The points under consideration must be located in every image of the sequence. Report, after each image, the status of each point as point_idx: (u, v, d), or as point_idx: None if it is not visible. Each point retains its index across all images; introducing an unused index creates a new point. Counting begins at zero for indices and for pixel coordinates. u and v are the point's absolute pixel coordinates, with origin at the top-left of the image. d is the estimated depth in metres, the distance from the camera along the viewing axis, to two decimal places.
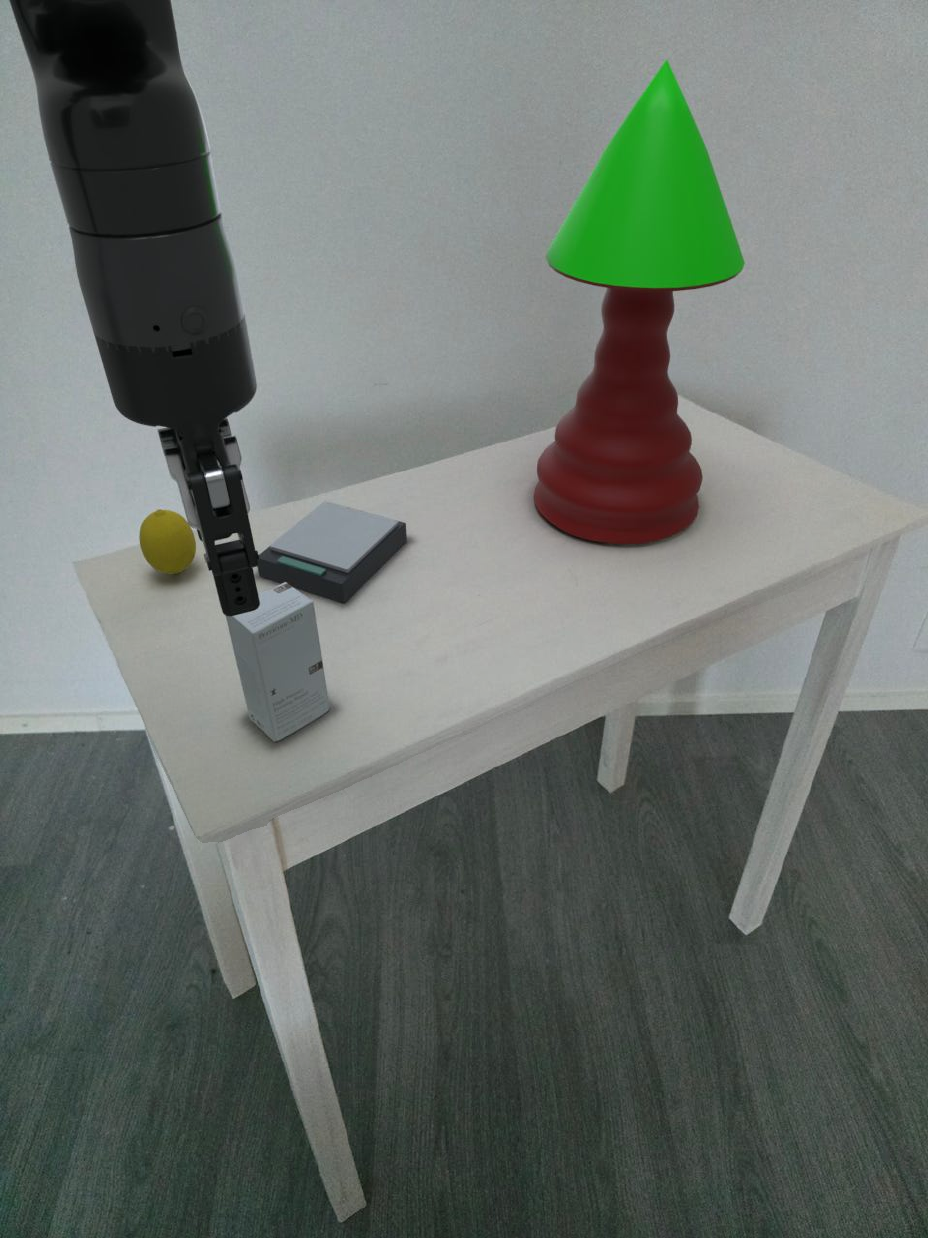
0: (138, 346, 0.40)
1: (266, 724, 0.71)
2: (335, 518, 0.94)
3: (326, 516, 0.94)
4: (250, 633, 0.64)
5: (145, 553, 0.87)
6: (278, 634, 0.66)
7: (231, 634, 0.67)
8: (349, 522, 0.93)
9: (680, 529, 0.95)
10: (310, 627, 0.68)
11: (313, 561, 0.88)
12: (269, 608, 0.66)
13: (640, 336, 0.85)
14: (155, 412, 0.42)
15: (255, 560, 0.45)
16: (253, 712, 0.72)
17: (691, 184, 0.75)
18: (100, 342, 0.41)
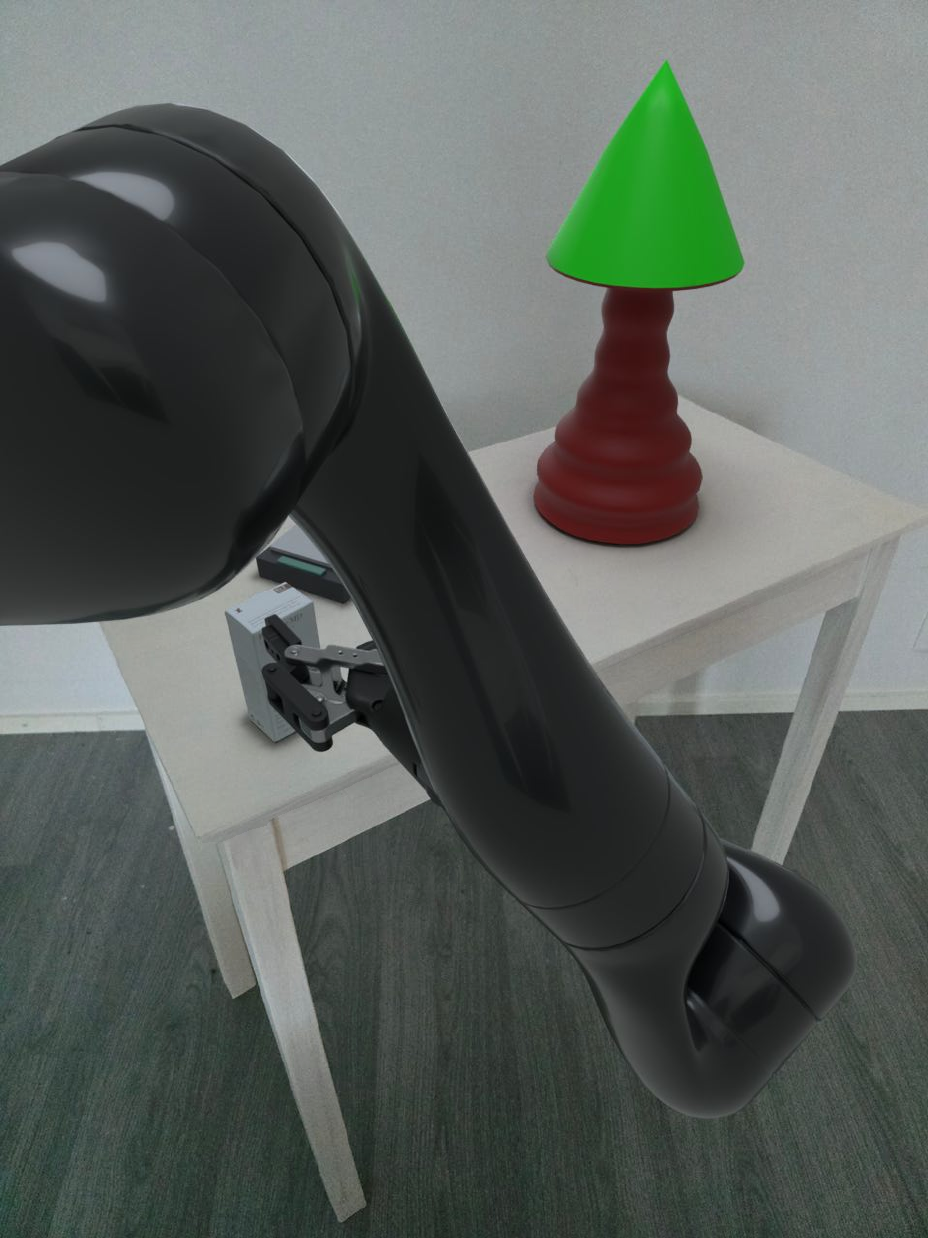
0: None
1: (266, 724, 0.71)
2: None
3: None
4: (250, 633, 0.64)
5: None
6: None
7: (231, 634, 0.67)
8: None
9: (680, 529, 0.95)
10: (309, 627, 0.68)
11: (313, 561, 0.88)
12: (269, 608, 0.66)
13: (640, 336, 0.85)
14: (389, 708, 0.44)
15: (269, 703, 0.49)
16: (253, 712, 0.72)
17: (691, 184, 0.75)
18: None
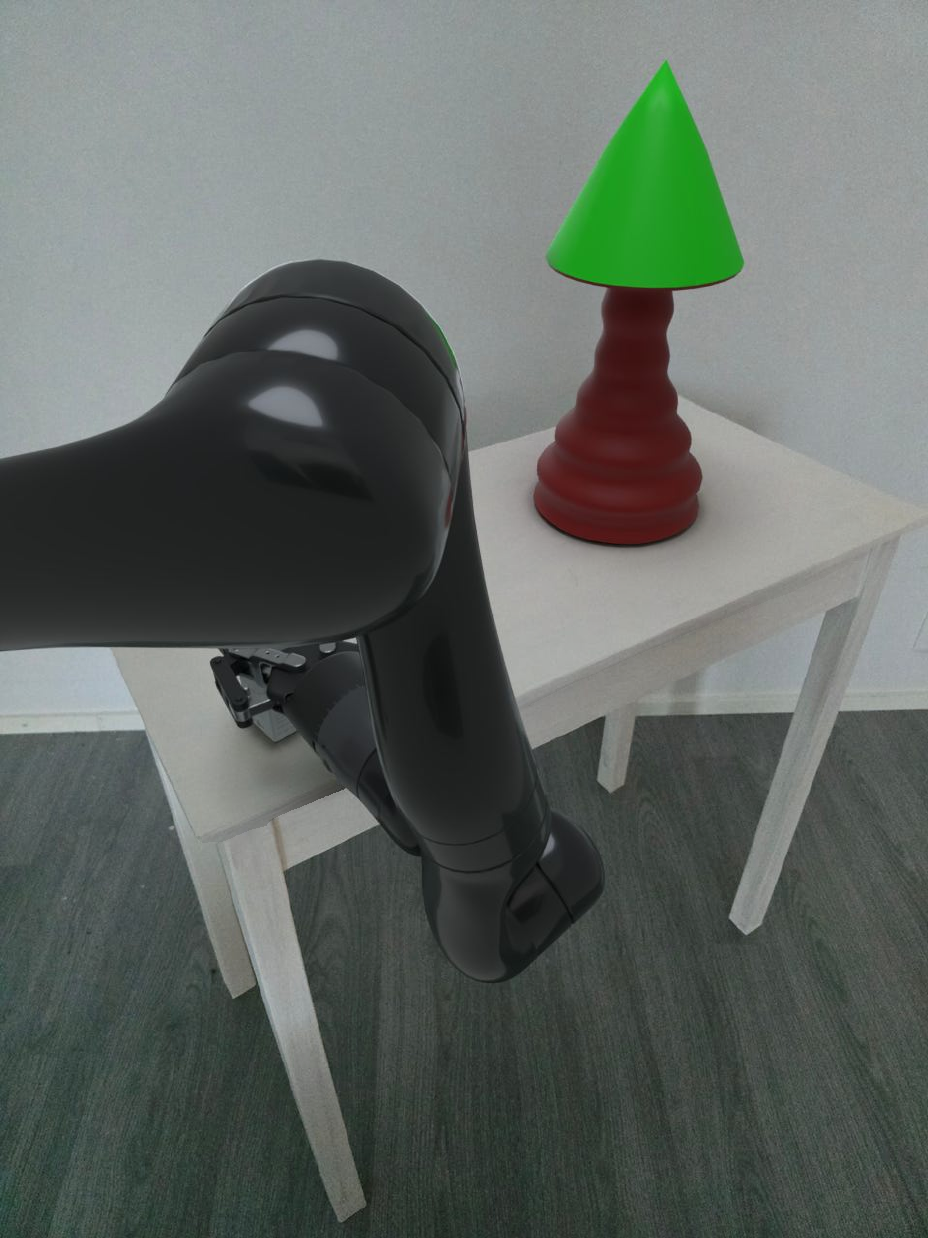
0: (321, 727, 0.56)
1: (266, 724, 0.71)
2: None
3: None
4: None
5: None
6: None
7: None
8: None
9: (680, 529, 0.95)
10: None
11: None
12: None
13: (640, 335, 0.85)
14: (296, 699, 0.58)
15: None
16: None
17: (690, 184, 0.75)
18: (342, 695, 0.56)
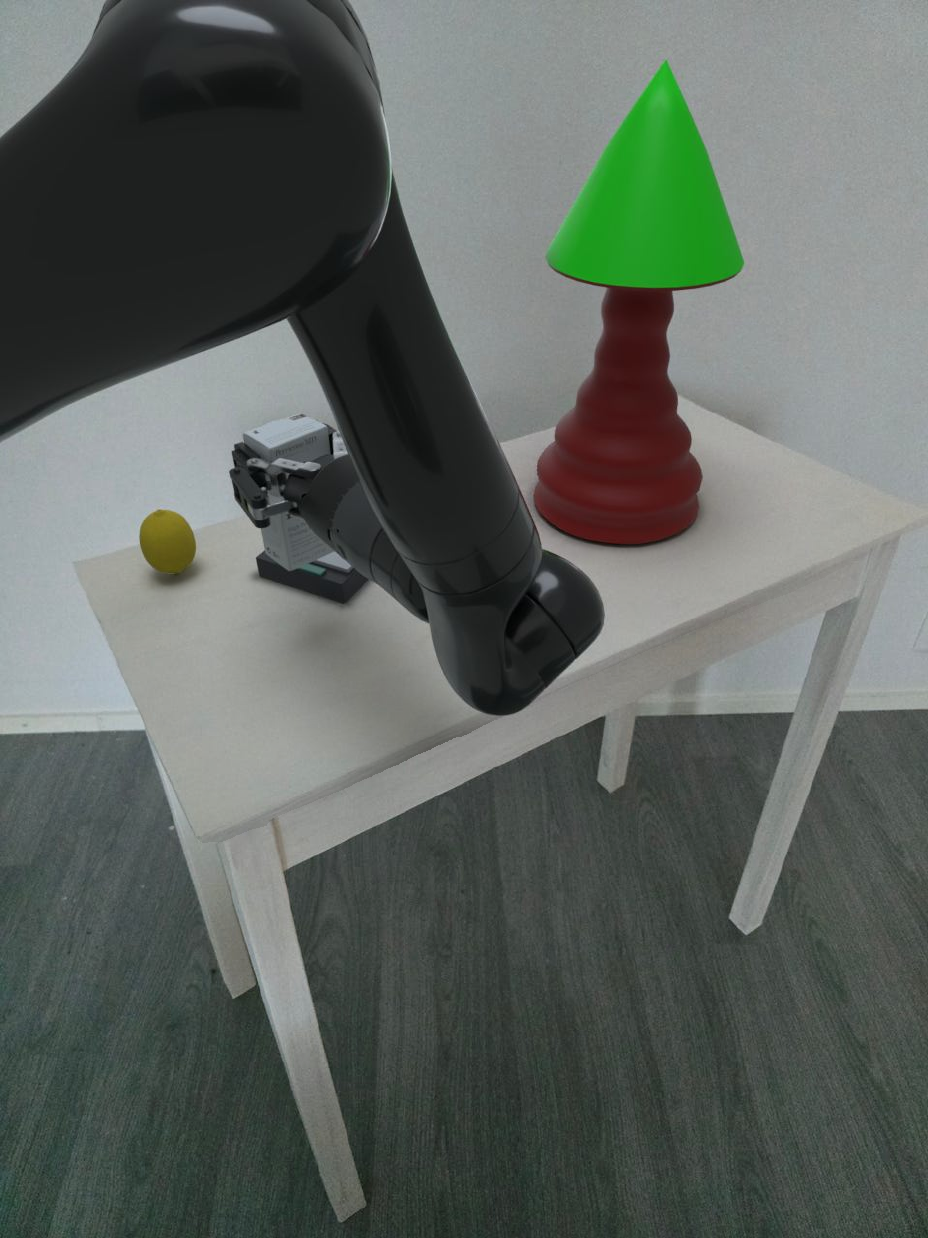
0: (336, 512, 0.59)
1: (281, 552, 0.73)
2: None
3: None
4: (267, 448, 0.67)
5: (145, 553, 0.87)
6: (294, 455, 0.69)
7: None
8: None
9: (680, 529, 0.95)
10: (323, 453, 0.71)
11: (313, 561, 0.88)
12: (285, 430, 0.69)
13: (640, 335, 0.85)
14: (312, 493, 0.61)
15: (235, 498, 0.67)
16: (269, 543, 0.75)
17: (690, 184, 0.75)
18: (355, 481, 0.59)
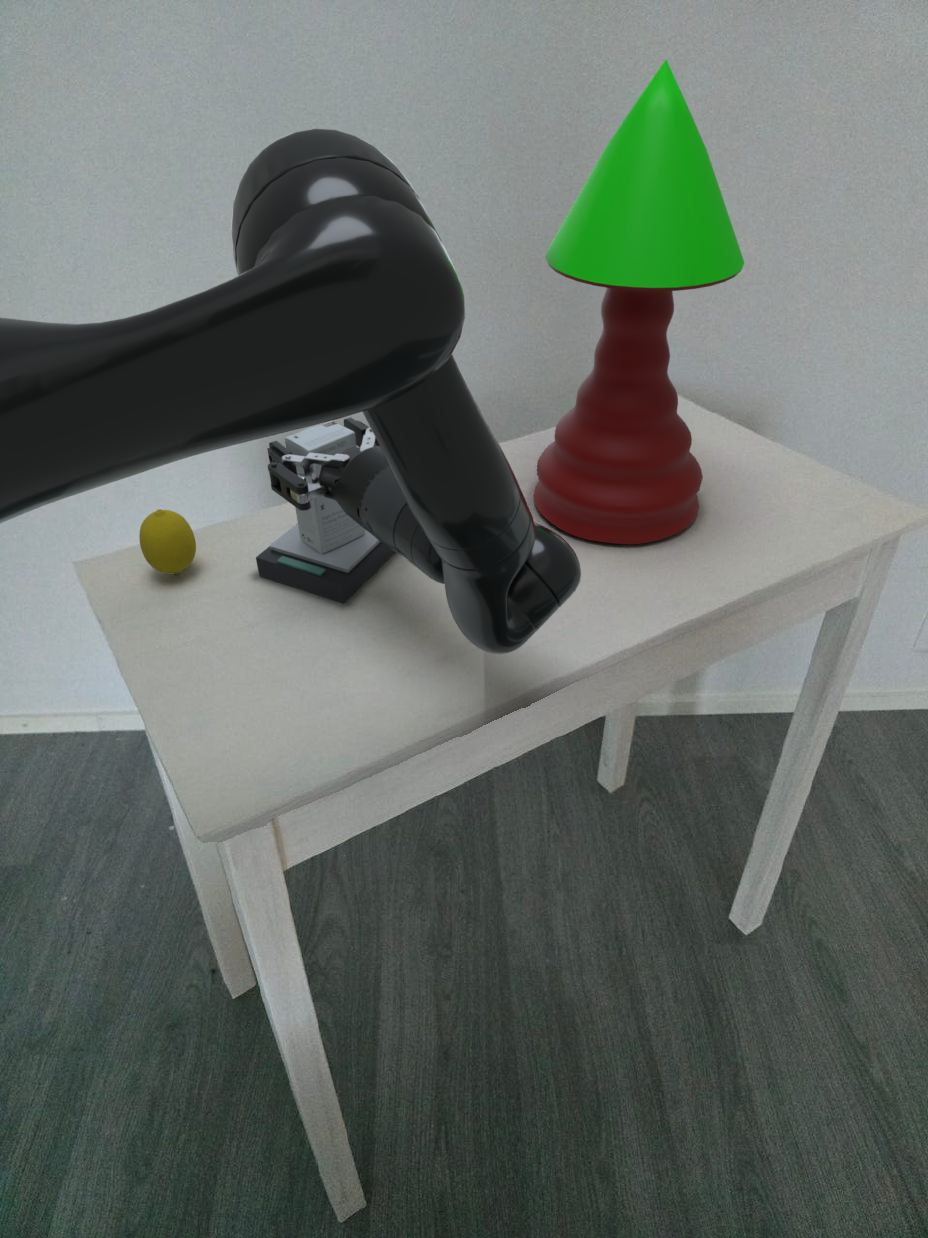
0: (364, 494, 0.73)
1: (315, 537, 0.87)
2: None
3: None
4: (306, 451, 0.81)
5: (145, 553, 0.87)
6: None
7: None
8: None
9: (680, 529, 0.95)
10: None
11: (313, 561, 0.88)
12: (320, 435, 0.83)
13: (640, 335, 0.85)
14: (344, 479, 0.75)
15: (272, 489, 0.79)
16: (304, 530, 0.89)
17: (690, 184, 0.75)
18: (380, 469, 0.73)
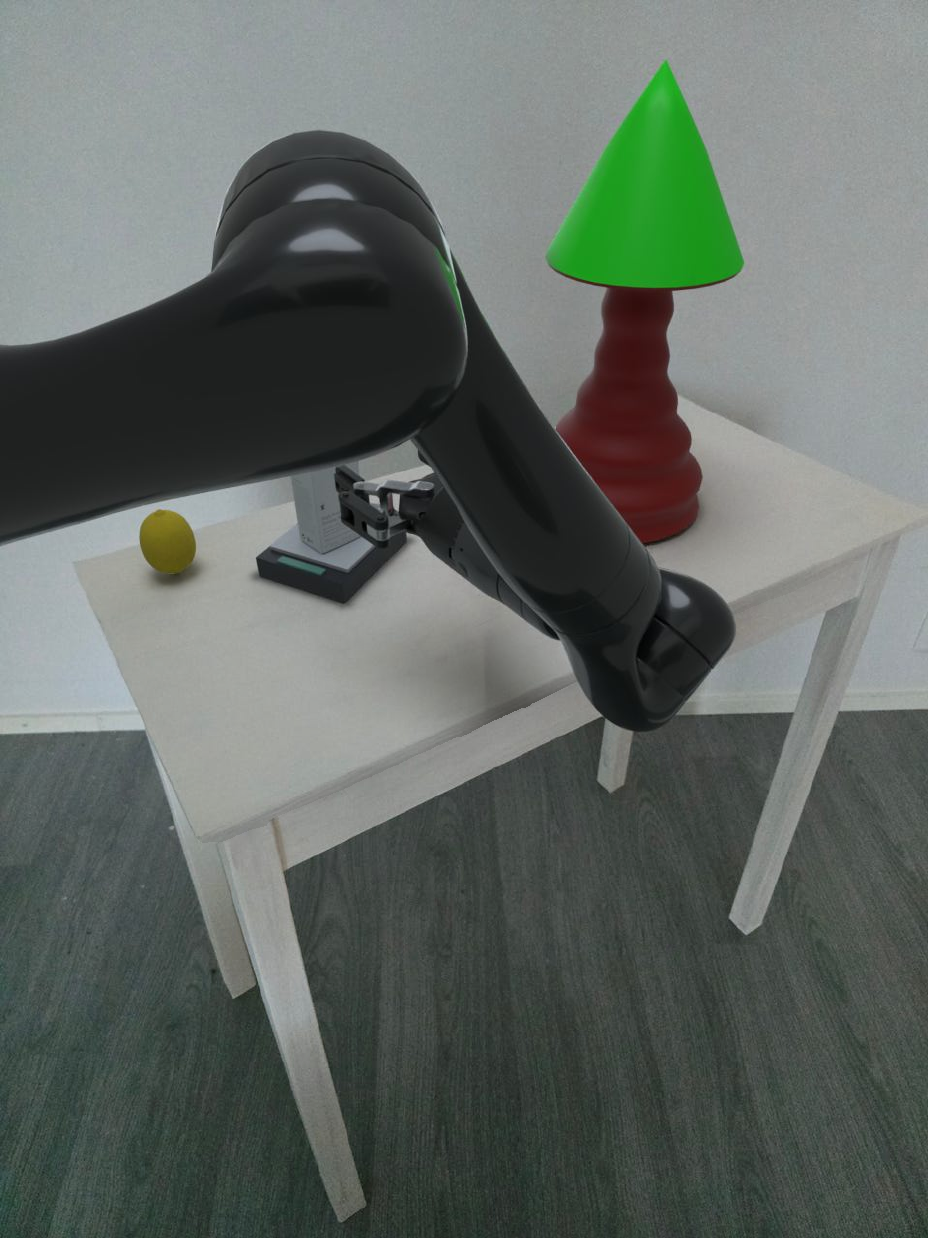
0: (459, 531, 0.62)
1: (315, 537, 0.87)
2: None
3: None
4: None
5: (145, 553, 0.87)
6: None
7: None
8: None
9: (680, 529, 0.95)
10: None
11: (313, 561, 0.88)
12: None
13: (640, 335, 0.85)
14: (432, 512, 0.64)
15: (342, 522, 0.68)
16: (304, 530, 0.89)
17: (690, 184, 0.75)
18: None
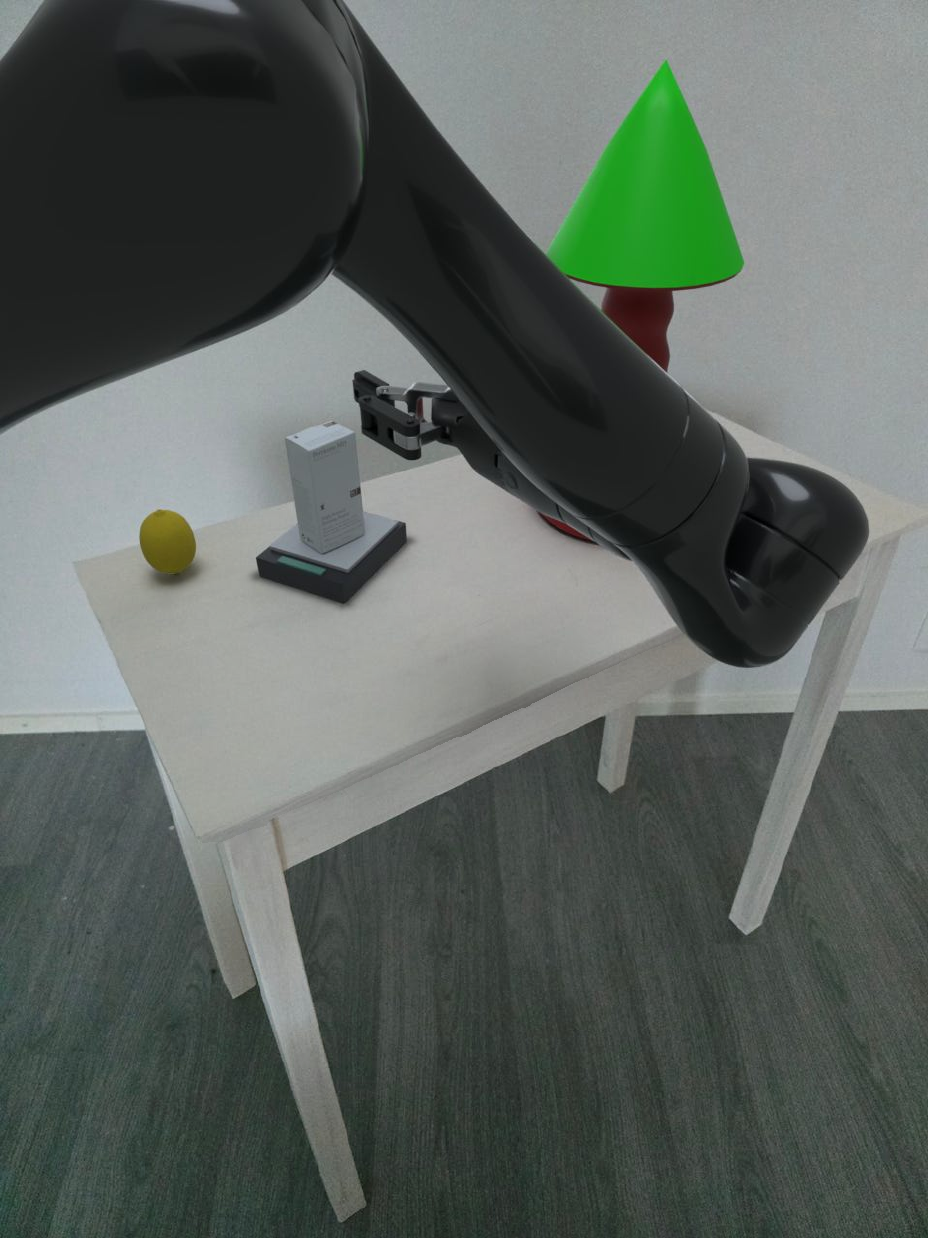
0: None
1: (315, 537, 0.87)
2: None
3: None
4: (306, 451, 0.81)
5: (145, 553, 0.87)
6: (328, 456, 0.83)
7: (289, 459, 0.84)
8: None
9: None
10: (351, 454, 0.85)
11: (313, 561, 0.88)
12: (320, 435, 0.83)
13: (640, 335, 0.85)
14: None
15: (363, 433, 0.57)
16: (304, 530, 0.89)
17: (690, 184, 0.75)
18: None
